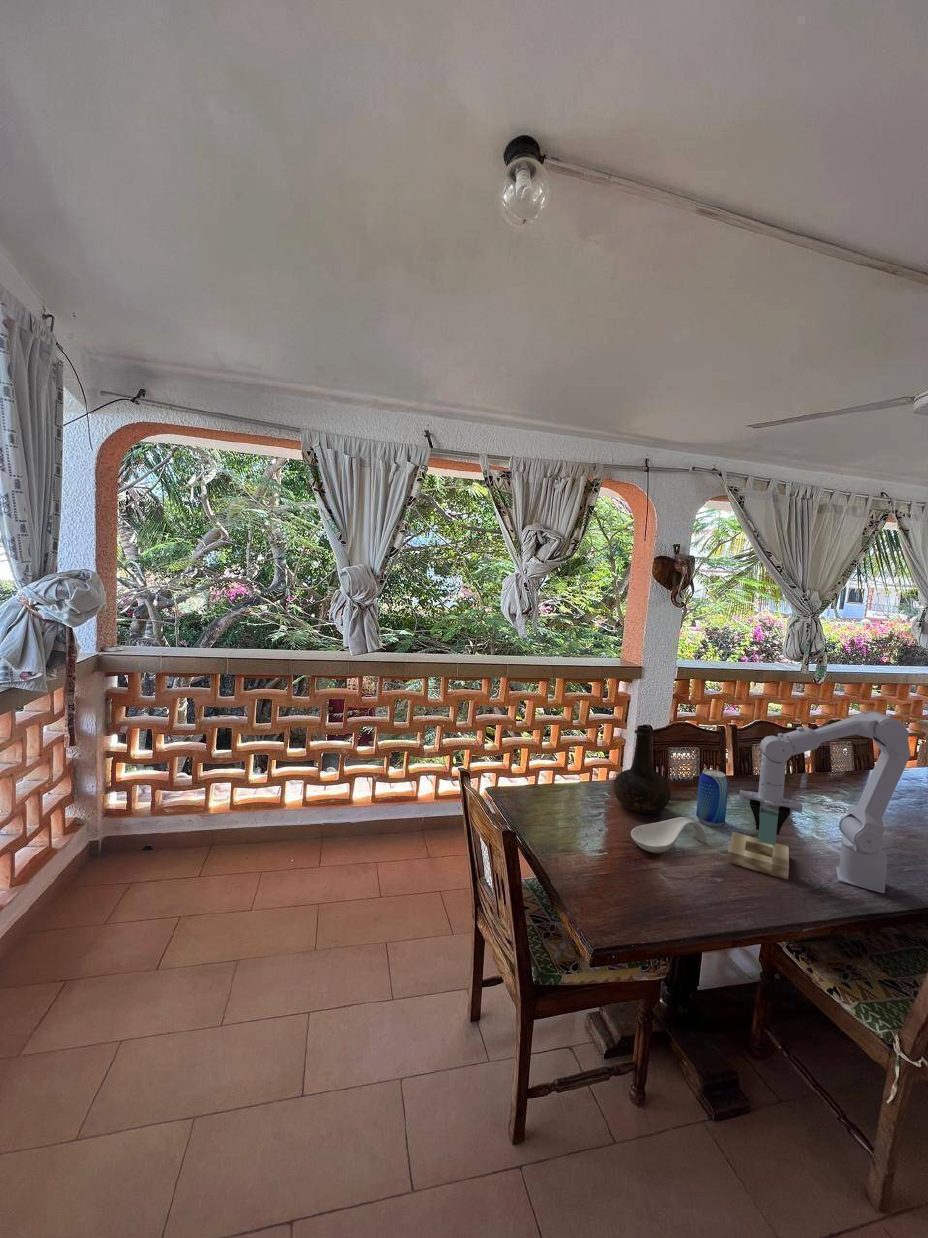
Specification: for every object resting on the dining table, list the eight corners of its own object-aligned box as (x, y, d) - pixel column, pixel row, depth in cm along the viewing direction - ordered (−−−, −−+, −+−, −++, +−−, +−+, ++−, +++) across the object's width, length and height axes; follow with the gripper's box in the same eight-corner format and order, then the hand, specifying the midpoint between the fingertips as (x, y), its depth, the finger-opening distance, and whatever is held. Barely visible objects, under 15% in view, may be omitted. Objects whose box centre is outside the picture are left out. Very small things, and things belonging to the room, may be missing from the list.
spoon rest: (649, 862, 138) (651, 836, 138) (621, 841, 149) (623, 817, 148) (715, 849, 146) (717, 825, 146) (684, 830, 157) (686, 808, 157)
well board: (787, 856, 144) (788, 846, 144) (787, 879, 132) (788, 868, 132) (731, 841, 151) (732, 832, 151) (727, 862, 139) (728, 851, 139)
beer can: (690, 817, 167) (693, 769, 166) (709, 814, 170) (713, 767, 169) (710, 829, 159) (714, 779, 158) (731, 826, 162) (735, 776, 161)
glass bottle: (680, 816, 167) (687, 732, 165) (636, 823, 160) (642, 735, 159) (642, 795, 183) (648, 718, 182) (601, 800, 177) (606, 721, 175)
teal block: (775, 839, 139) (777, 811, 138) (775, 845, 136) (777, 816, 135) (758, 835, 141) (760, 807, 141) (757, 841, 138) (760, 812, 137)
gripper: (740, 779, 138) (736, 828, 139) (804, 793, 130) (799, 844, 131) (741, 772, 144) (737, 819, 145) (803, 784, 136) (798, 834, 137)
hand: (767, 830), depth 138 cm, fingers closed on teal block, 4 cm apart
